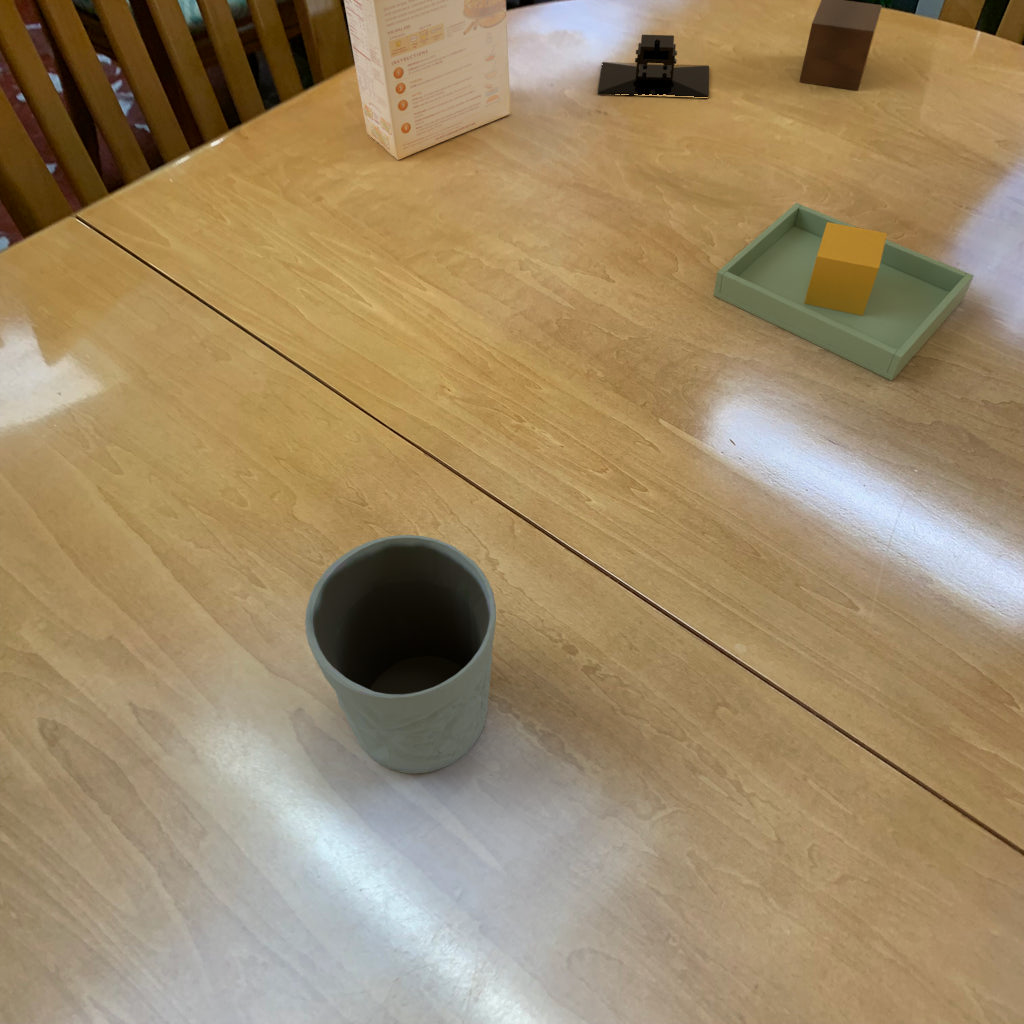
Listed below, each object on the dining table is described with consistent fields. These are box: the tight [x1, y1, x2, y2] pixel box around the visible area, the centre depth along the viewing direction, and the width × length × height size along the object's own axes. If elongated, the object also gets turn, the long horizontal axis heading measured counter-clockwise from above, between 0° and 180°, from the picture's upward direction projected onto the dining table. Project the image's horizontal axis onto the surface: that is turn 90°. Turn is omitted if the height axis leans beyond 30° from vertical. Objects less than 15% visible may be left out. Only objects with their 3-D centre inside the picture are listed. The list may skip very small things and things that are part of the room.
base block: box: [799, 0, 883, 91], centre depth 103 cm, size 6×6×6 cm
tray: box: [713, 202, 975, 381], centre depth 81 cm, size 17×13×3 cm
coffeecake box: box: [343, 0, 512, 161], centre depth 94 cm, size 15×7×20 cm, turn 126°
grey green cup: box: [304, 534, 497, 774], centre depth 54 cm, size 10×10×12 cm
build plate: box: [597, 34, 710, 97], centre depth 104 cm, size 12×7×5 cm, turn 82°
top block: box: [804, 222, 888, 316], centre depth 79 cm, size 5×5×5 cm
